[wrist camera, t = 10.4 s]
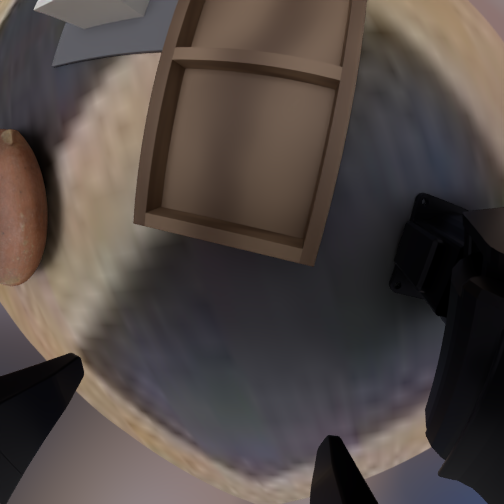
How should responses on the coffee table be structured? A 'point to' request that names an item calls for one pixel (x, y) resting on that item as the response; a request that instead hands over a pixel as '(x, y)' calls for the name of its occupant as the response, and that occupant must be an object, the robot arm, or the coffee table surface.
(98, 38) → the pad
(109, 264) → the coffee table surface
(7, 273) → the ceramic jug
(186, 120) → the tray
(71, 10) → the letter cube
